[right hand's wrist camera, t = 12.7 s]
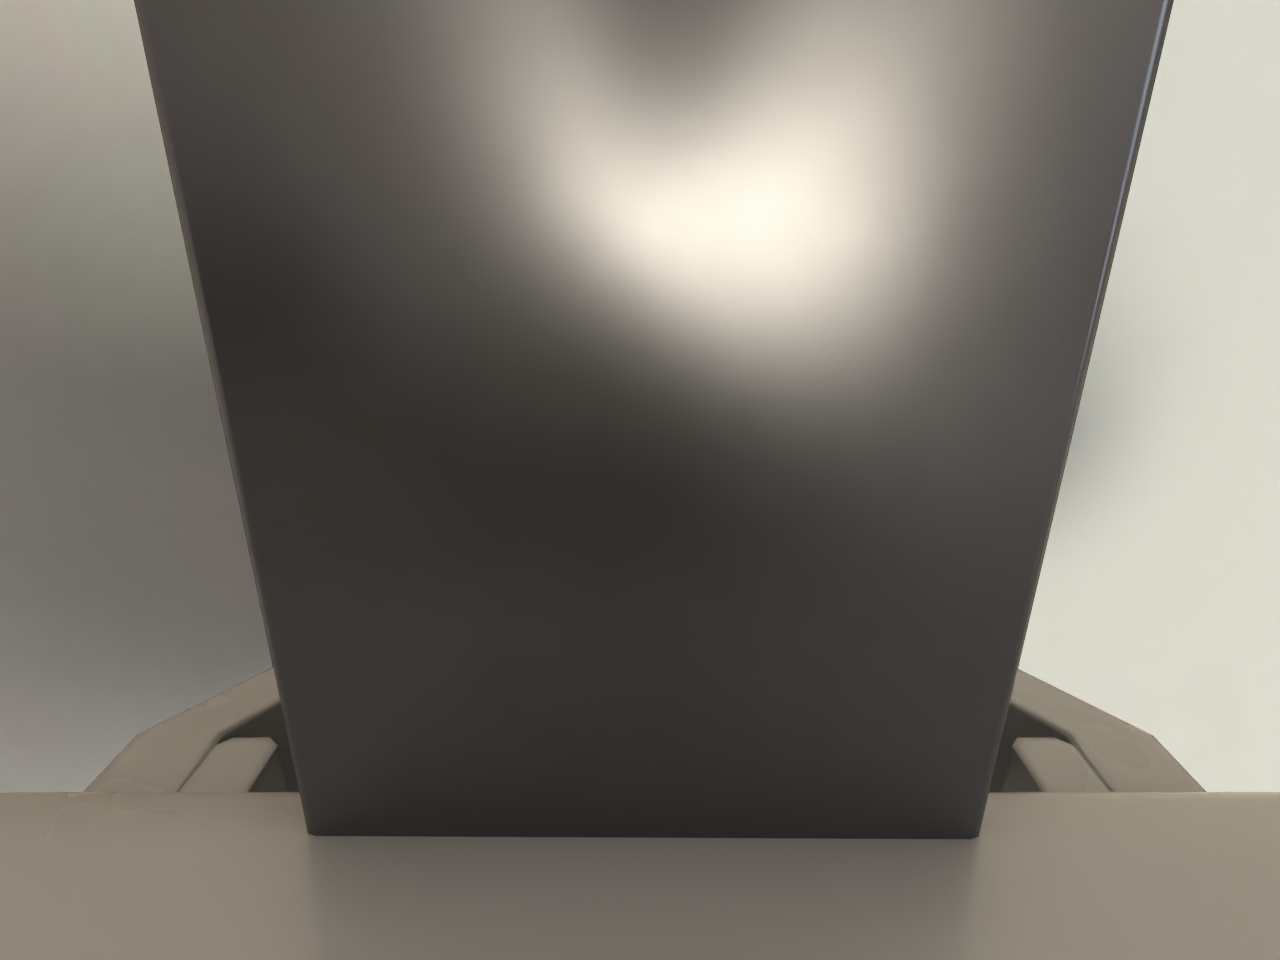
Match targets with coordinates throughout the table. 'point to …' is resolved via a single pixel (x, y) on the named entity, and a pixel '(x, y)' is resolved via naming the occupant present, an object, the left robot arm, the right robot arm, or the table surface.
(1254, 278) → the table surface
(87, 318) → the table surface
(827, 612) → the bar
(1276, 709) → the table surface
